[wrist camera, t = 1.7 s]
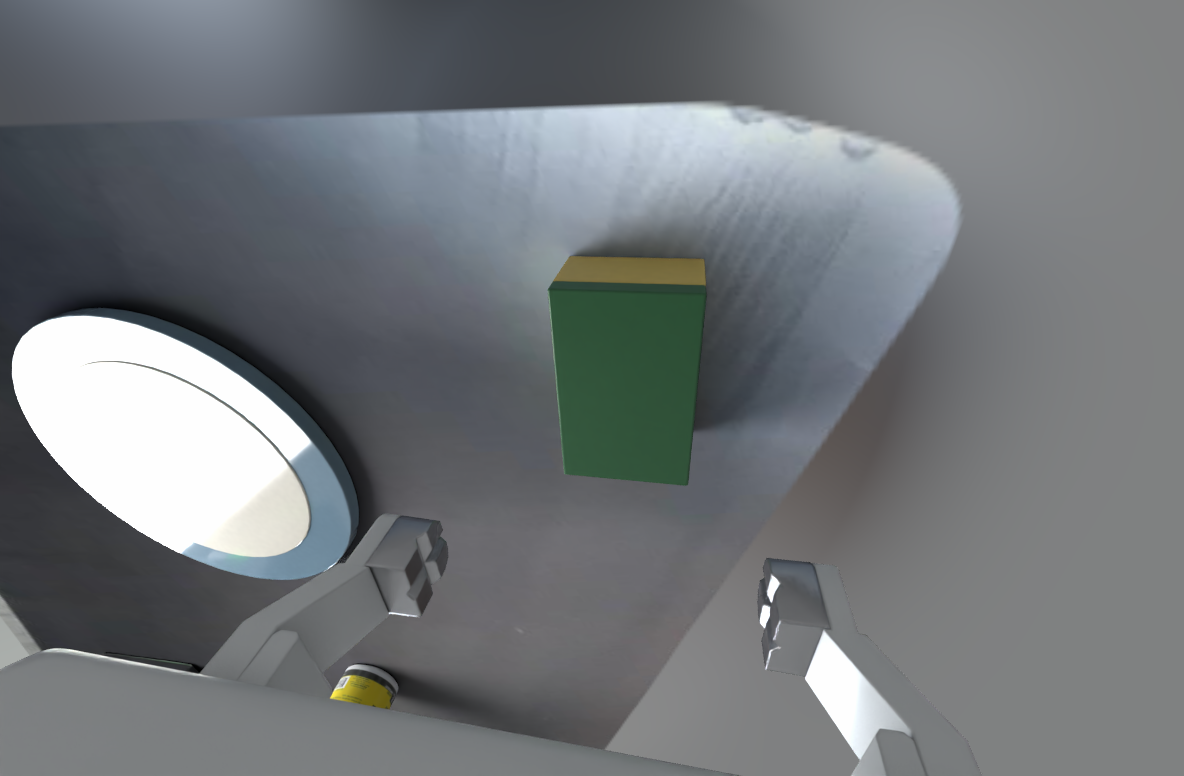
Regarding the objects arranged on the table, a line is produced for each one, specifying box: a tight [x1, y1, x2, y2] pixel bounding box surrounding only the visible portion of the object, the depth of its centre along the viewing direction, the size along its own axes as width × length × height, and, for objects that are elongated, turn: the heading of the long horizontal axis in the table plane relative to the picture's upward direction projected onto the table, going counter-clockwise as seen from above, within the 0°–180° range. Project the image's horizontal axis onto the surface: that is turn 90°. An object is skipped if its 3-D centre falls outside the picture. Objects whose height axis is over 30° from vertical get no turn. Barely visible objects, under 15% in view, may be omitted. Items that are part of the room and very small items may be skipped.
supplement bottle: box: [330, 664, 398, 709], centre depth 38 cm, size 5×5×8 cm
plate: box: [12, 308, 359, 580], centre depth 29 cm, size 20×20×1 cm
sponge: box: [548, 256, 707, 486], centre depth 19 cm, size 8×5×3 cm, turn 3°
